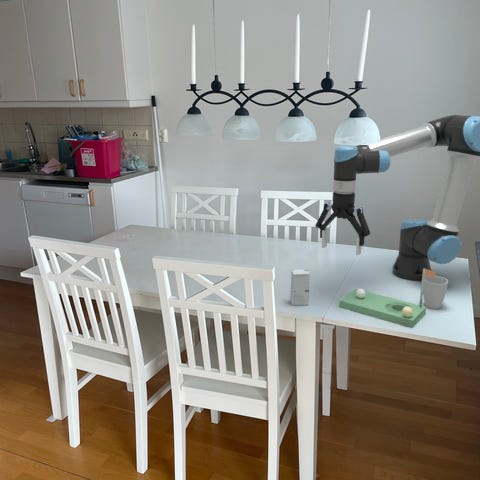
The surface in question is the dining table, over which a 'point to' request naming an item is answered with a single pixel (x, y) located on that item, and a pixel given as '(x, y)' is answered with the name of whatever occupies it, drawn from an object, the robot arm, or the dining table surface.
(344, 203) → the robot arm
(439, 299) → the cup
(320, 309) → the dining table surface
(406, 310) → the yellow ball
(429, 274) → the flag
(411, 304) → the green
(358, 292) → the ball
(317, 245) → the dining table surface
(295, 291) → the skincare box
